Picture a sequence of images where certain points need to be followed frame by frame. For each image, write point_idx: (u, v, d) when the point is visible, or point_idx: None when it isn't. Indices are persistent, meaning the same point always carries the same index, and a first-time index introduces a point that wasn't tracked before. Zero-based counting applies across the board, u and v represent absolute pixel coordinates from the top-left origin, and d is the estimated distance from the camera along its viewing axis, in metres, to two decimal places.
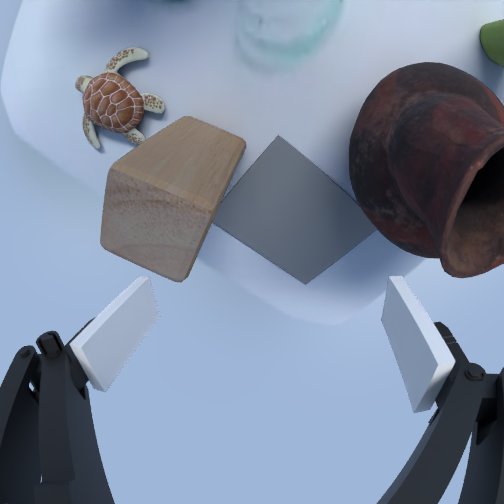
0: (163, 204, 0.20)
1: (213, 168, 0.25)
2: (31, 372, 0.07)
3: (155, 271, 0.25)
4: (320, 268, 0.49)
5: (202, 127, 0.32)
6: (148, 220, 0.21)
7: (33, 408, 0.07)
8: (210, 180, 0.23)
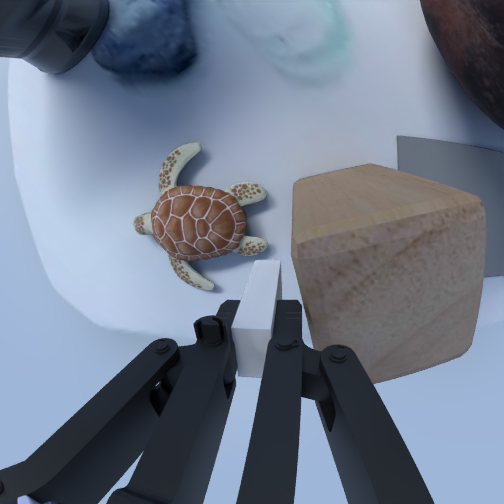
0: (426, 240, 0.10)
1: (407, 179, 0.15)
2: (161, 375, 0.08)
3: (433, 364, 0.12)
4: None
5: (327, 175, 0.25)
6: (410, 289, 0.10)
7: (146, 415, 0.07)
8: (428, 184, 0.12)
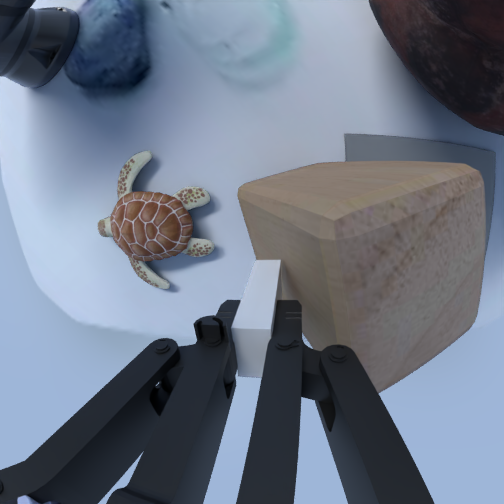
0: (450, 208, 0.09)
1: (386, 163, 0.15)
2: (161, 375, 0.08)
3: (451, 342, 0.11)
4: None
5: (278, 175, 0.24)
6: (439, 262, 0.09)
7: (146, 415, 0.07)
8: (417, 163, 0.12)
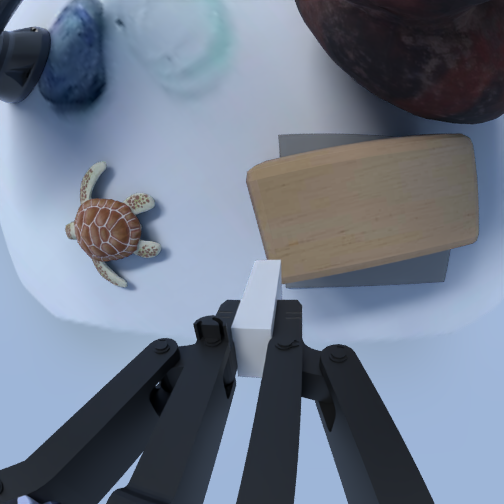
0: None
1: None
2: (161, 375, 0.08)
3: None
4: None
5: (285, 157, 0.22)
6: None
7: (146, 415, 0.07)
8: None
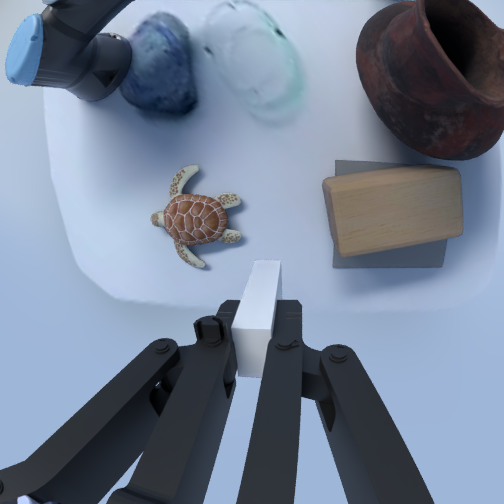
0: None
1: (403, 167, 0.36)
2: (161, 375, 0.08)
3: None
4: (442, 242, 0.40)
5: (347, 178, 0.34)
6: None
7: (146, 415, 0.07)
8: (415, 165, 0.36)
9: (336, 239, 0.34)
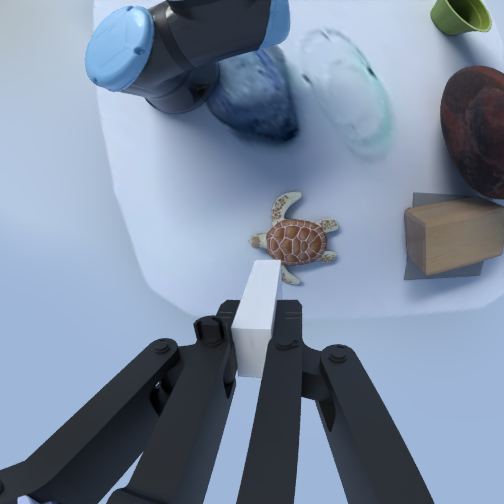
0: None
1: (461, 200, 0.40)
2: (161, 375, 0.08)
3: None
4: None
5: (430, 213, 0.39)
6: None
7: (146, 415, 0.07)
8: (469, 198, 0.40)
9: (424, 262, 0.39)
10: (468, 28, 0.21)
